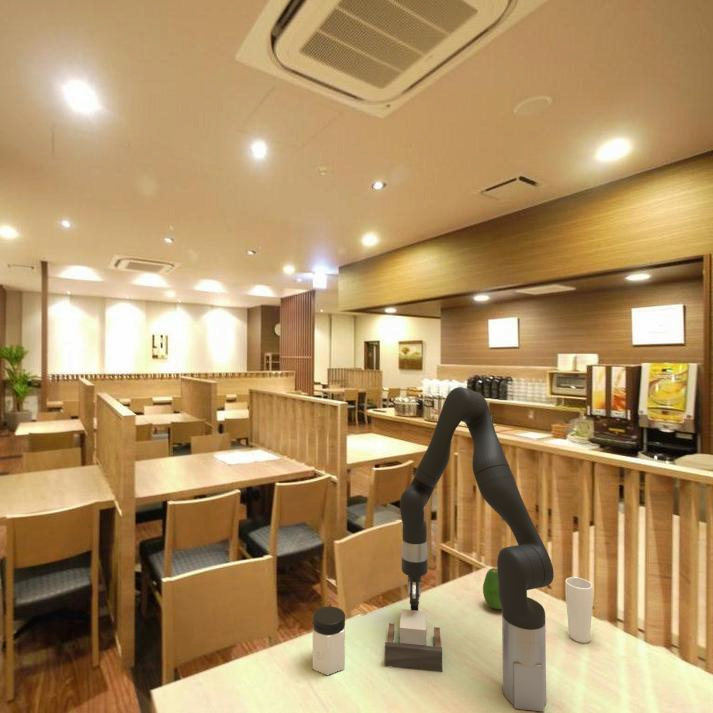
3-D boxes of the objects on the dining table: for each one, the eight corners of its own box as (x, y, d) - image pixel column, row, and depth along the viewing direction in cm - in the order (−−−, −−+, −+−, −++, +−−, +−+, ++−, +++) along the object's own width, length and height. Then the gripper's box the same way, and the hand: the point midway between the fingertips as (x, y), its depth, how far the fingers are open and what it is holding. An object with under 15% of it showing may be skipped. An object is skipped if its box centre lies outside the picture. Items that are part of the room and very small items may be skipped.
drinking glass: (587, 631, 122) (586, 577, 123) (598, 646, 116) (597, 589, 116) (562, 629, 123) (561, 576, 123) (571, 645, 116) (570, 588, 117)
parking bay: (442, 671, 106) (442, 651, 106) (385, 666, 108) (384, 645, 108) (439, 636, 120) (439, 618, 120) (388, 632, 122) (388, 614, 122)
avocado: (477, 604, 136) (477, 565, 137) (497, 599, 139) (497, 561, 140) (495, 618, 129) (494, 577, 129) (515, 612, 132) (515, 572, 132)
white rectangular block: (426, 647, 115) (426, 630, 115) (399, 645, 116) (399, 627, 116) (426, 627, 124) (426, 611, 124) (401, 625, 125) (401, 609, 125)
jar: (304, 667, 108) (304, 618, 108) (323, 648, 115) (323, 602, 115) (335, 680, 103) (335, 628, 104) (352, 660, 110) (352, 612, 111)
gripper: (427, 566, 120) (427, 630, 120) (427, 546, 133) (427, 604, 133) (400, 564, 121) (400, 627, 121) (402, 545, 134) (402, 601, 134)
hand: (414, 615), depth 127 cm, fingers closed
